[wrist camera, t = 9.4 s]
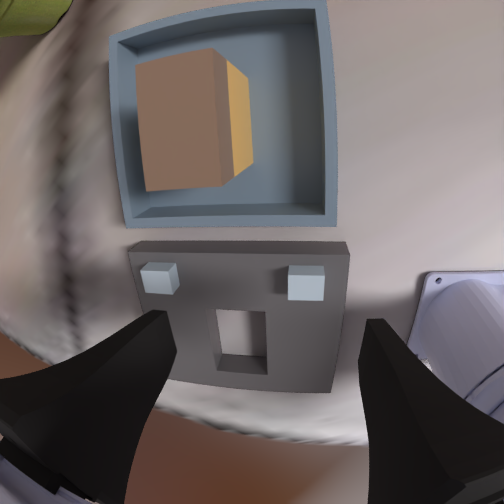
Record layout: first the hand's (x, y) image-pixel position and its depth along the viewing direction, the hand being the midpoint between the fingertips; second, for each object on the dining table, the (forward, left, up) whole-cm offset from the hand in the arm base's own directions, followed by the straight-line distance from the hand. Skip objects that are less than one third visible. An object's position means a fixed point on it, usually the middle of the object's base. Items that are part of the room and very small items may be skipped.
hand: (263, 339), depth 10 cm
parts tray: (+3, -8, -9) cm, 13 cm away
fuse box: (+3, +6, -9) cm, 12 cm away
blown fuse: (+3, -8, -9) cm, 12 cm away
